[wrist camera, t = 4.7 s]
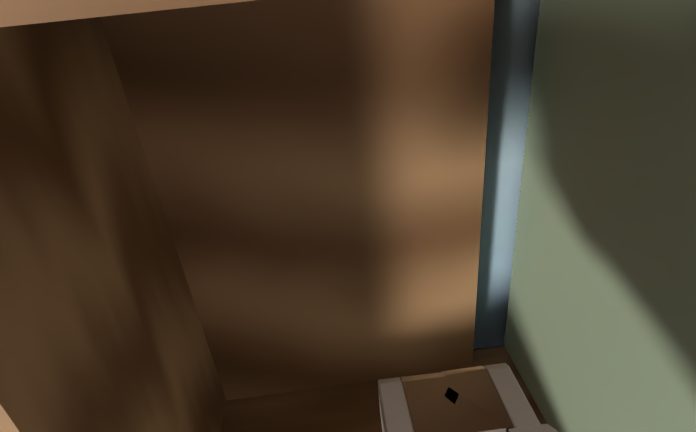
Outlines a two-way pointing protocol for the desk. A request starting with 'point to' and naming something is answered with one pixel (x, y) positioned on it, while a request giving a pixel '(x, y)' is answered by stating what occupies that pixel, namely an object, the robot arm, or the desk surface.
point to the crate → (237, 209)
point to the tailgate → (609, 219)
